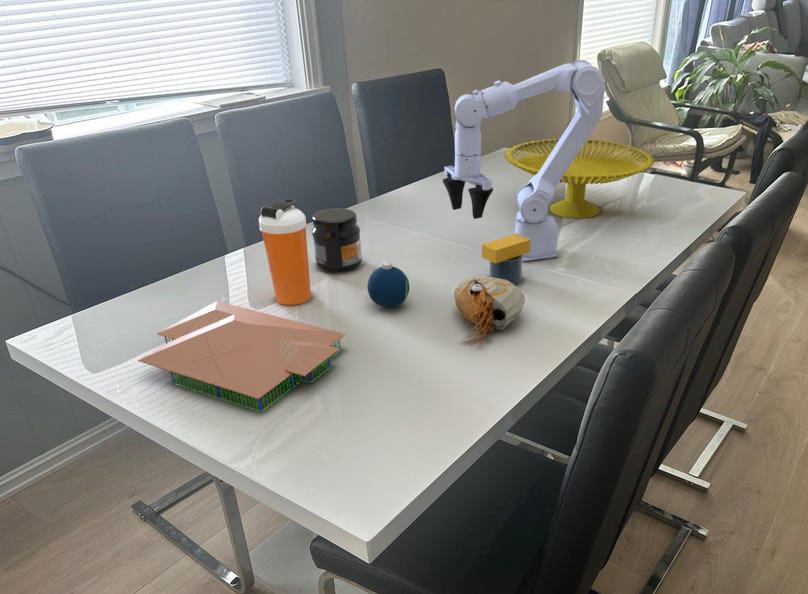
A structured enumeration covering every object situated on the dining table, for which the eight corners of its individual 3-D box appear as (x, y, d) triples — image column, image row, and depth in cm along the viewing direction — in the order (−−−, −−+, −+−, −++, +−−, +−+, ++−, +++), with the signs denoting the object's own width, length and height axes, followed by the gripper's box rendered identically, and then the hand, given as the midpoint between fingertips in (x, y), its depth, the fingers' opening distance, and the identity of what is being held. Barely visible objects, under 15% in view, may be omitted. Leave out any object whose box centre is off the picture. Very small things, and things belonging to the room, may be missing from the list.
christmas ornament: (399, 317, 136) (396, 271, 131) (361, 311, 139) (357, 264, 133) (417, 300, 143) (415, 255, 138) (380, 294, 145) (377, 249, 140)
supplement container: (372, 265, 159) (368, 214, 152) (334, 278, 152) (329, 226, 146) (343, 252, 165) (339, 204, 158) (306, 265, 158) (300, 215, 152)
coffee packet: (516, 246, 153) (516, 233, 151) (530, 252, 150) (530, 239, 149) (481, 257, 148) (481, 244, 146) (495, 263, 145) (495, 250, 143)
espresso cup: (514, 272, 156) (514, 247, 153) (526, 284, 150) (527, 258, 147) (484, 276, 154) (485, 250, 151) (496, 288, 148) (496, 262, 145)
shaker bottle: (323, 292, 146) (312, 200, 136) (300, 310, 139) (287, 214, 128) (287, 286, 148) (273, 195, 138) (262, 303, 141) (246, 208, 131)
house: (275, 420, 106) (267, 375, 102) (123, 370, 118) (110, 329, 114) (360, 353, 124) (356, 312, 120) (220, 316, 136) (212, 278, 132)
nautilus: (501, 360, 123) (425, 348, 128) (536, 304, 140) (468, 295, 145) (499, 322, 119) (420, 311, 124) (536, 268, 135) (465, 261, 140)
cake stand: (668, 203, 199) (676, 150, 191) (613, 247, 169) (619, 186, 162) (544, 180, 217) (547, 131, 209) (475, 216, 188) (475, 161, 180)
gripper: (433, 149, 154) (434, 208, 161) (474, 163, 145) (473, 225, 152) (458, 144, 158) (457, 202, 165) (500, 158, 149) (497, 219, 156)
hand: (467, 213), depth 159 cm, fingers open, 7 cm apart
